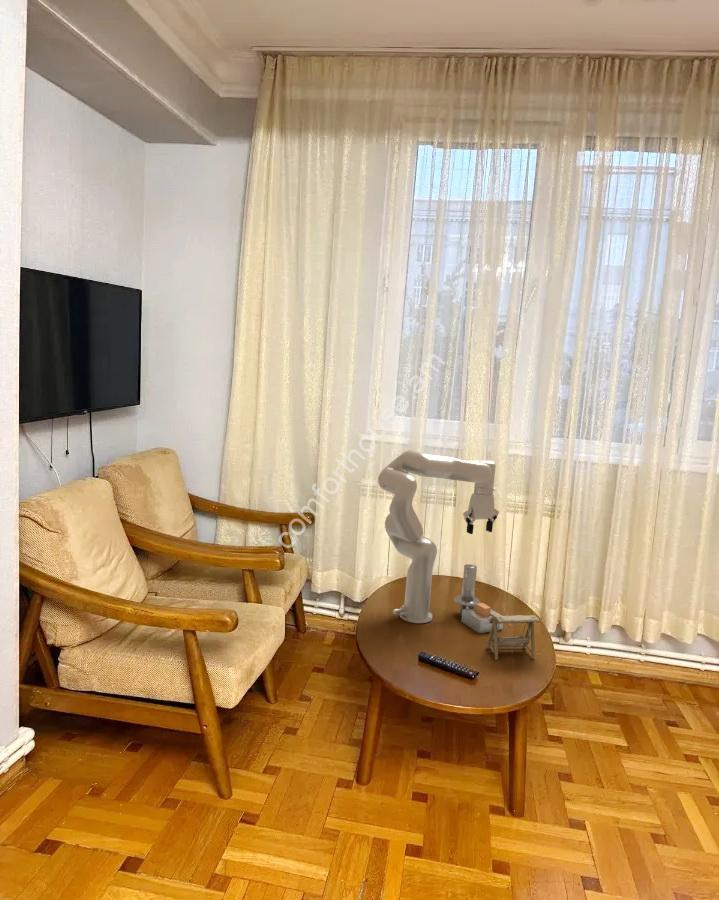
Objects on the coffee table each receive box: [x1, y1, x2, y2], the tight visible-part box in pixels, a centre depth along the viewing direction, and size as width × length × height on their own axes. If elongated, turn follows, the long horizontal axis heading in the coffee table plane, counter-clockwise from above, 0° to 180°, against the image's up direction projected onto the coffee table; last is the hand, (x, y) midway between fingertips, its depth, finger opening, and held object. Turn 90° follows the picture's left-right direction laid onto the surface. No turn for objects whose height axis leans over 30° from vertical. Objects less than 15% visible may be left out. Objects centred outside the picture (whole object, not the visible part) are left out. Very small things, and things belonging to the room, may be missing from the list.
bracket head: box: [453, 563, 504, 634], centre depth 261 cm, size 11×20×20 cm, turn 28°
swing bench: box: [485, 614, 541, 661], centre depth 235 cm, size 15×10×15 cm, turn 100°
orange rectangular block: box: [475, 602, 492, 617], centre depth 258 cm, size 3×5×8 cm, turn 29°
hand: (479, 532), depth 275 cm, fingers open, 9 cm apart
